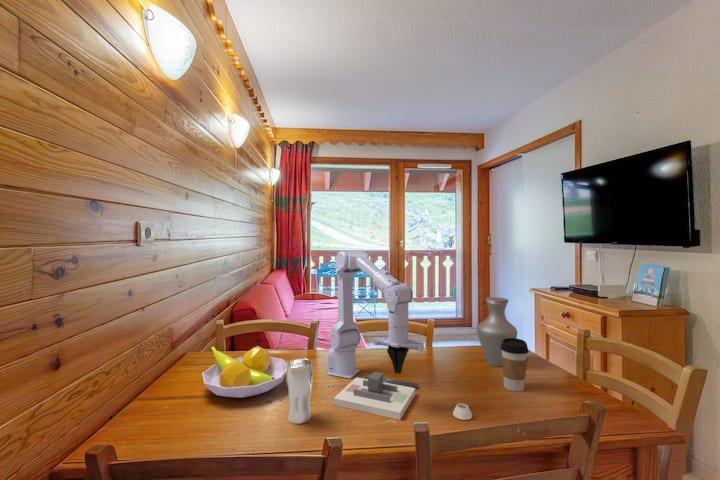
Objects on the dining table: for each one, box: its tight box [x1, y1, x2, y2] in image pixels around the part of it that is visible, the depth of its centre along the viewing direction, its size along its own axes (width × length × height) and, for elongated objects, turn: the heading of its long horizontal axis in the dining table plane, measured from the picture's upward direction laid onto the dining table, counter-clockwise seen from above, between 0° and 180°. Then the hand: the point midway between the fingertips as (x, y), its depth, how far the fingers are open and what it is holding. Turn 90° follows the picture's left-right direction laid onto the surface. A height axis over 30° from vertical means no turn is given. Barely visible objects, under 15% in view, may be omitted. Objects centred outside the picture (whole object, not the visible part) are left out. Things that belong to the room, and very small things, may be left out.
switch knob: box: [368, 371, 384, 394], centre depth 103 cm, size 3×5×5 cm, turn 156°
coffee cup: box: [500, 338, 530, 392], centre depth 111 cm, size 8×8×15 cm
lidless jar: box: [452, 402, 473, 421], centre depth 94 cm, size 5×3×5 cm
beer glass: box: [285, 357, 314, 425], centre depth 92 cm, size 7×7×15 cm
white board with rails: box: [333, 374, 419, 421], centre depth 105 cm, size 20×21×4 cm
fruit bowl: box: [201, 345, 288, 399], centre depth 111 cm, size 28×27×11 cm
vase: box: [476, 296, 518, 368], centre depth 132 cm, size 14×14×25 cm
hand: (398, 372), depth 100 cm, fingers closed
